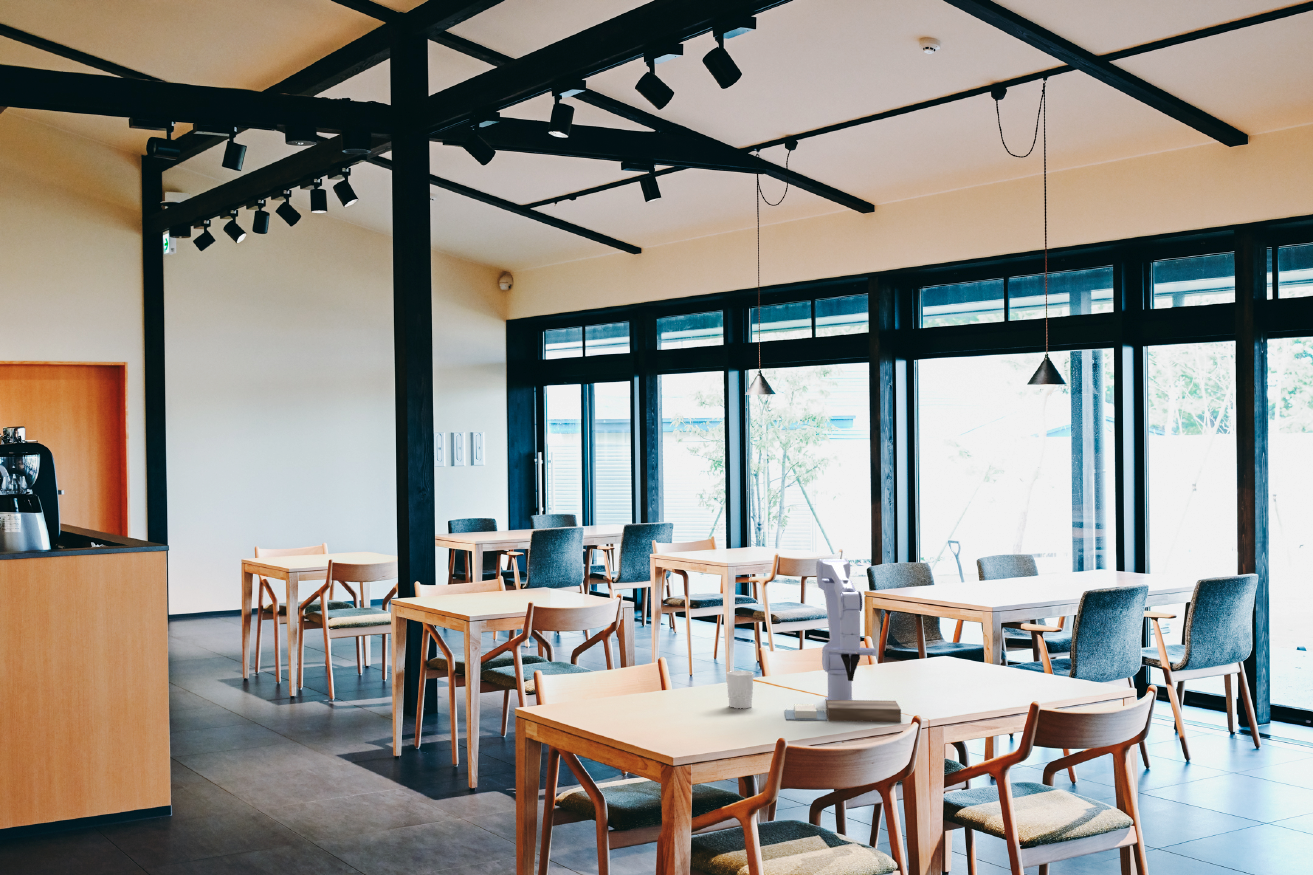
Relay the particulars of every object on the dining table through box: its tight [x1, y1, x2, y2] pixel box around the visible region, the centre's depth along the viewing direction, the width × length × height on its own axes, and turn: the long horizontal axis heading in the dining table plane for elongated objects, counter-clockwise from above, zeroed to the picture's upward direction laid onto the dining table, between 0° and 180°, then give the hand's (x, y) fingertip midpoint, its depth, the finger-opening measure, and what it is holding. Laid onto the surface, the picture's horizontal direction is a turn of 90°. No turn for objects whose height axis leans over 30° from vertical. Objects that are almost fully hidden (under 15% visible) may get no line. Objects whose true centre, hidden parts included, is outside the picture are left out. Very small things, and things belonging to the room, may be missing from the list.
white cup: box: [726, 670, 754, 710], centre depth 347 cm, size 8×8×10 cm
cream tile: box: [793, 703, 817, 718], centre depth 333 cm, size 9×6×2 cm, turn 175°
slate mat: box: [784, 709, 828, 722], centre depth 333 cm, size 12×12×1 cm
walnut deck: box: [825, 699, 902, 723], centre depth 332 cm, size 12×20×4 cm, turn 85°
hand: (850, 680), depth 338 cm, fingers closed
